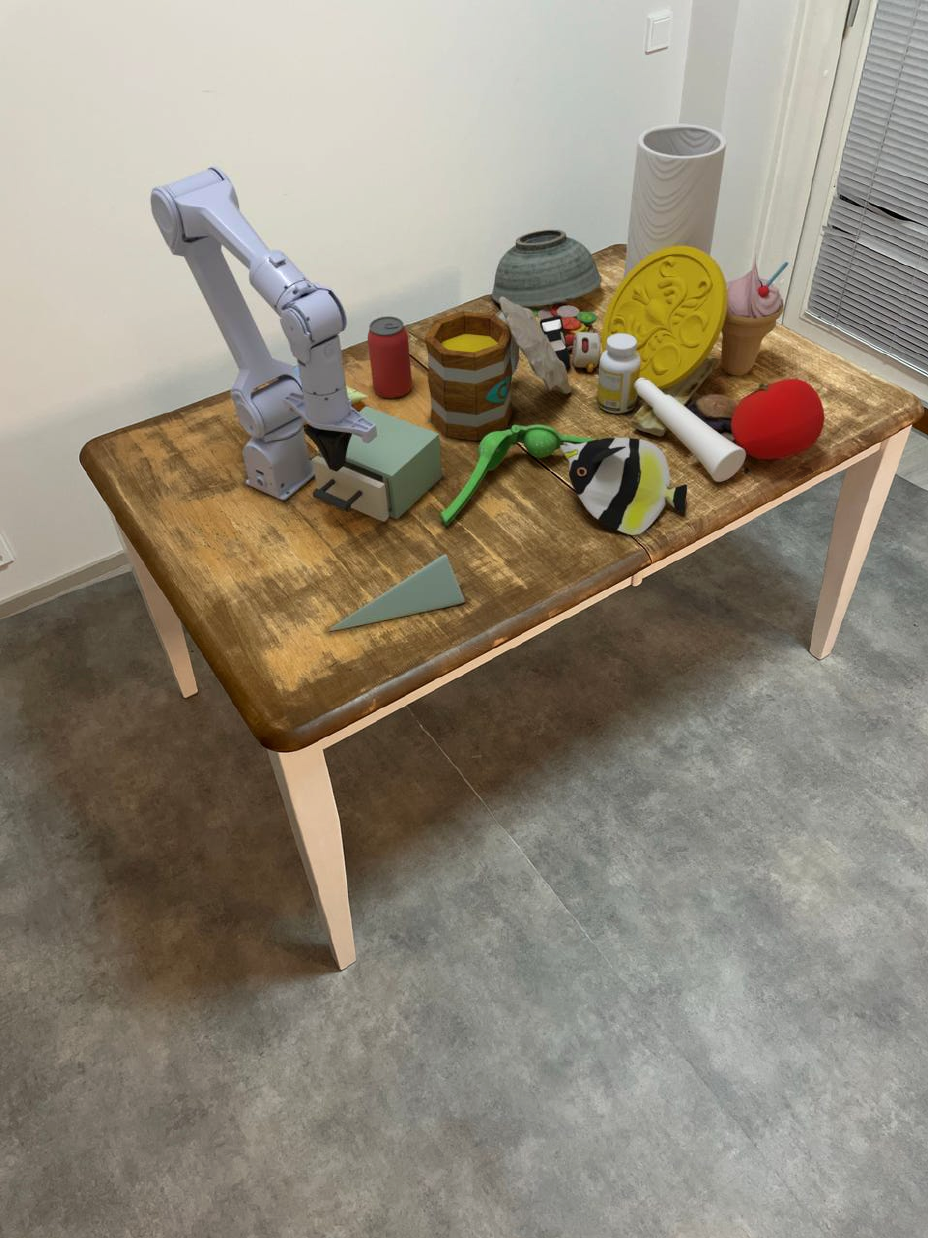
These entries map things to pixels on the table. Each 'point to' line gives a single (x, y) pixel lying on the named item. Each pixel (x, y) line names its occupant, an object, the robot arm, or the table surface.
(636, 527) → the fish
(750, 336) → the ice cream cone
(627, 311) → the decorative medallion
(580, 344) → the roller toy
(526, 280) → the bowl
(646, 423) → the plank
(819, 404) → the tomato
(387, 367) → the beer can
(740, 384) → the table surface
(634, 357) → the pill bottle
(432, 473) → the drawer cabinet
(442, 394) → the mug
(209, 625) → the table surface
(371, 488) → the cream drawer
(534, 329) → the stone tool
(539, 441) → the lime squeezer
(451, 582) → the thin wedge-shaped triangle plate
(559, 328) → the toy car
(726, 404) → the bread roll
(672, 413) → the cosmetic bottle
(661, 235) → the vase
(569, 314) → the toy food set
